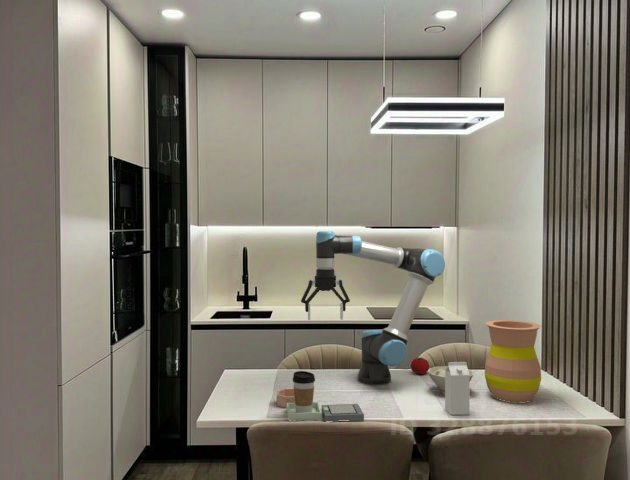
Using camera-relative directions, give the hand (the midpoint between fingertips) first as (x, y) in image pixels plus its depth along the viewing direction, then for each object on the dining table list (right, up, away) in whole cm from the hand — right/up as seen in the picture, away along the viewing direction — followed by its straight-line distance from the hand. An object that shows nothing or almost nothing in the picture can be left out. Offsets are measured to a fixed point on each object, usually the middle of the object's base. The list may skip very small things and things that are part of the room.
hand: (325, 319), depth 231 cm
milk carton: (+49, -32, -20) cm, 62 cm away
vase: (+77, -32, -2) cm, 83 cm away
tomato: (+46, -31, +35) cm, 65 cm away
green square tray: (-9, -32, -23) cm, 41 cm away
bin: (-14, -32, -10) cm, 36 cm away
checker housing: (+6, -32, -25) cm, 41 cm away
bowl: (+53, -32, +4) cm, 62 cm away
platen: (+6, -31, -25) cm, 40 cm away
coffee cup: (-8, -32, -23) cm, 40 cm away
